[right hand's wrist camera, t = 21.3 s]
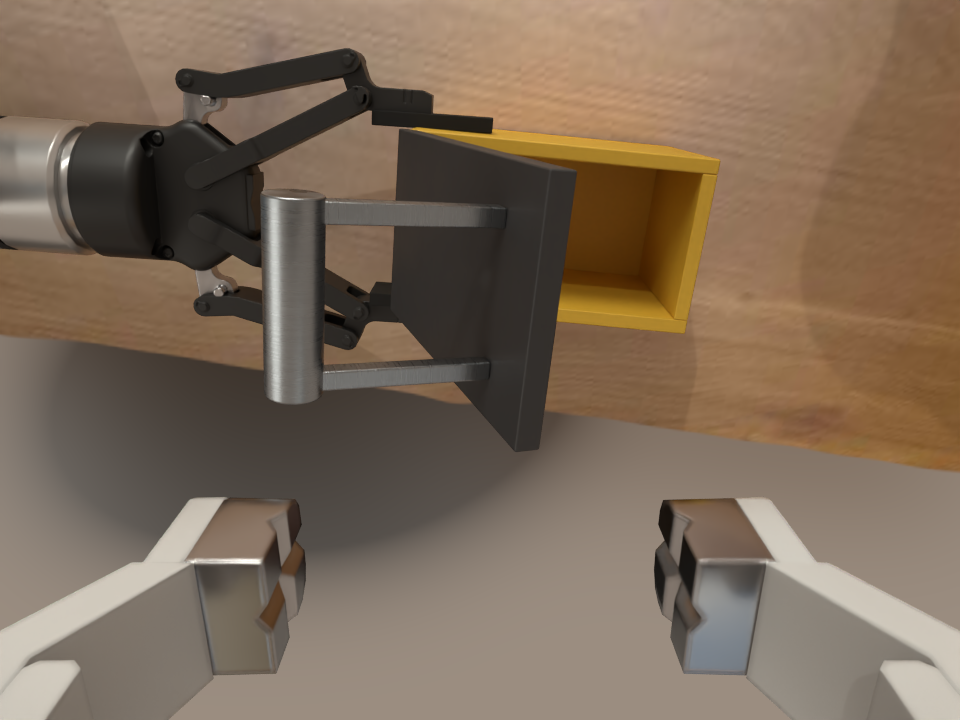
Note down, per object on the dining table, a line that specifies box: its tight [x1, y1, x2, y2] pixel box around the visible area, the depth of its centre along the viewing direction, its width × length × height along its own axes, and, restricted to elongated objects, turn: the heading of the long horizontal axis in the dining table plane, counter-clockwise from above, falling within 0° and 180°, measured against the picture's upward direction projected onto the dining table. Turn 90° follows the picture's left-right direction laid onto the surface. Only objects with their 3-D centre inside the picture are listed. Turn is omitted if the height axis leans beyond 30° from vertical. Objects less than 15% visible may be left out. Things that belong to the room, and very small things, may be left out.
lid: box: [260, 129, 577, 452], centre depth 27 cm, size 16×9×9 cm
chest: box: [410, 127, 720, 334], centre depth 41 cm, size 16×9×11 cm, turn 85°
